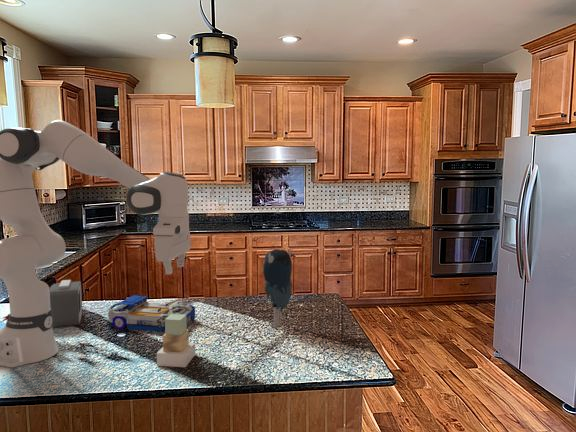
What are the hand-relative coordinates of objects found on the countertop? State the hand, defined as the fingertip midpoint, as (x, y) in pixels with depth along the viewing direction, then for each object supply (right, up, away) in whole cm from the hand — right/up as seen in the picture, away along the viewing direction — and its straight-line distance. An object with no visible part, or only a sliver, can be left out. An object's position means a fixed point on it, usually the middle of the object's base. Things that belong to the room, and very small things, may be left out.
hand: (174, 270), depth 132 cm
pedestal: (0, -29, +3) cm, 29 cm away
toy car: (-18, -26, +35) cm, 47 cm away
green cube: (0, -20, +2) cm, 20 cm away
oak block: (0, -25, +3) cm, 25 cm away
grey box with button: (-53, -25, +37) cm, 69 cm away
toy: (+31, -26, +33) cm, 52 cm away
